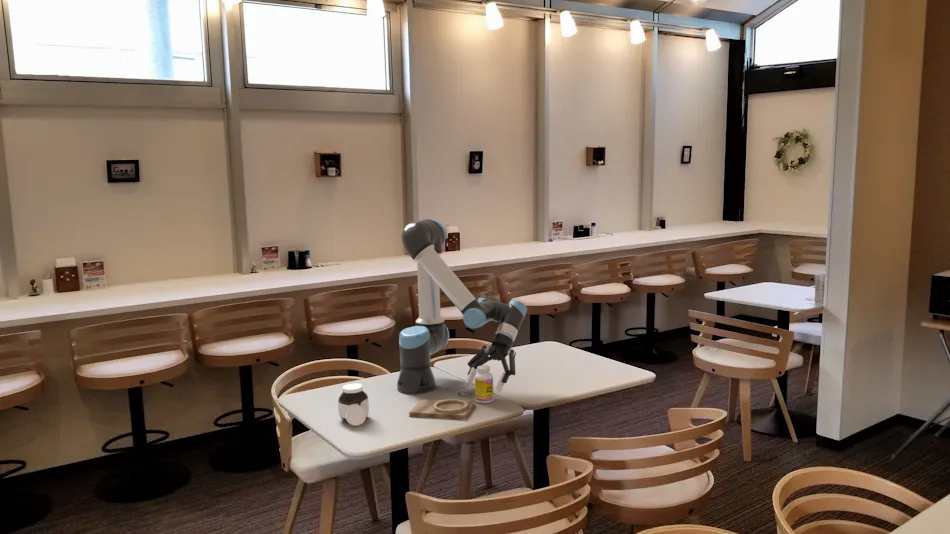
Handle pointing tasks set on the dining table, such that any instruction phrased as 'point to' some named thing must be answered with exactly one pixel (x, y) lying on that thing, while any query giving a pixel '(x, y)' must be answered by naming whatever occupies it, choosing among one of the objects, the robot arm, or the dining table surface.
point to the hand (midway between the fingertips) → (482, 387)
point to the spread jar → (353, 404)
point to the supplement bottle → (483, 385)
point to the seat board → (442, 409)
